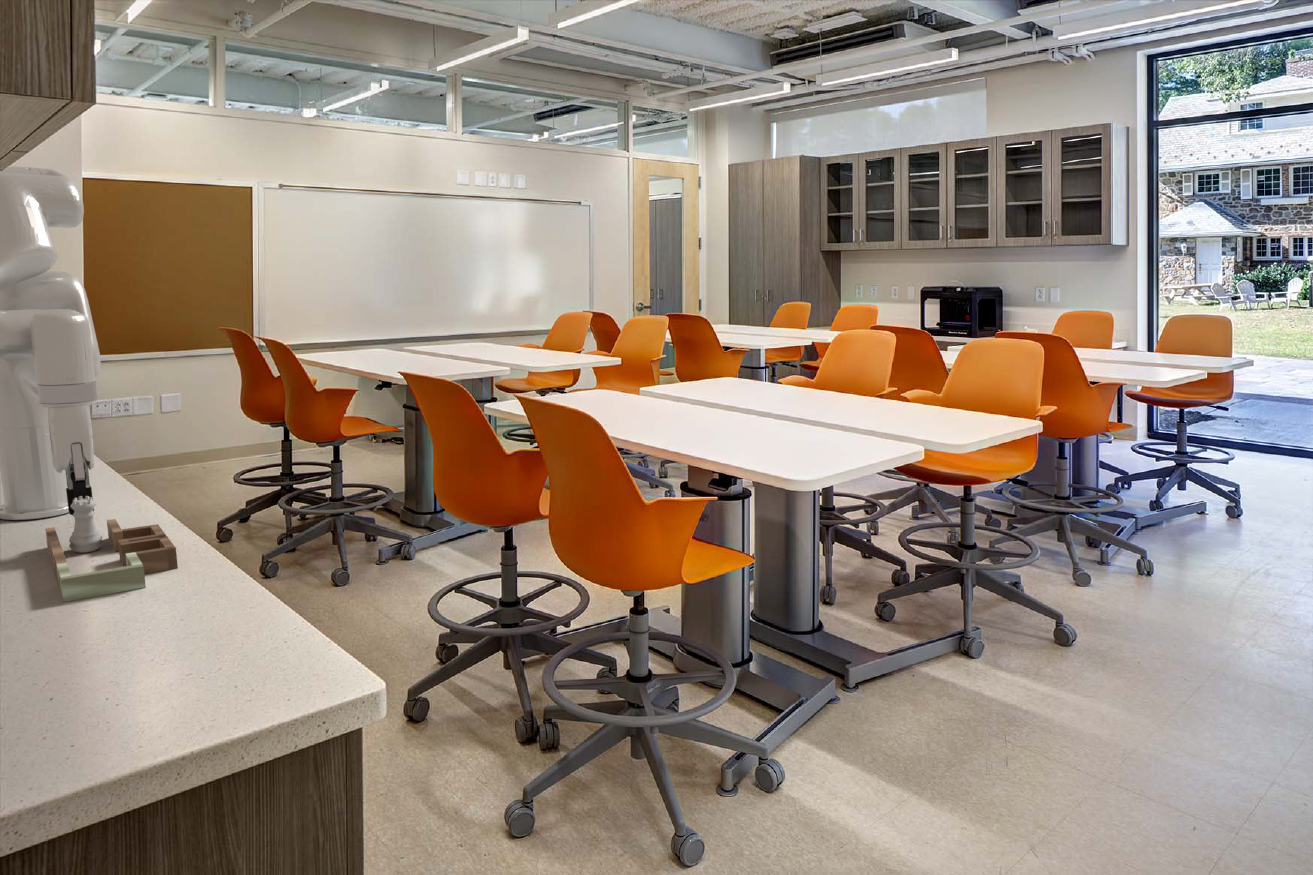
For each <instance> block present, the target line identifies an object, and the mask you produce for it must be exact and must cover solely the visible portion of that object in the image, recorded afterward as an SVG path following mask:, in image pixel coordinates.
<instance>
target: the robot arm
mask: <svg viewBox="0 0 1313 875" xmlns="http://www.w3.org/2000/svg"><path fill="white" fill-rule="evenodd" d="M9 166H10V167H8V168H7V169H4V170H3V171H0V478H1V486H2V493H3V494H2V495H3V501H4V502H3V503H4V504H1V505H0V519H1V520H7V521H12V520H13V521H23V520H36V519H38V520H39V519H44V518H45V519H46V518H50V517H56V516H61V515H64V514H68V513H69V515H70V516H73V514H74V510H73V509H72V508H71V507H70V506H71V504H72V503H73V499H74V498H77V500H78V499H79V496H82V499H85V496H89V499H90V497H92V499H93V492H92V490H93V489H92V486H91V483H90V474H89V471H91V470H93V468H95V455H94V453H95V452H94V450H95V449H94V440H93V437H94V436H93V428H92V418H91V417H92V416H91V410H90V406H91V405H95V404H98V403H99V400H98V391H97V382H96V379H97V377H99V375H100V373H101V367H102V362H101V361H102V360H101V353H100V348H99V343H98V339H97V334H96V330H95V326H94V321H93V317H92V312H91V308H90V303H89V299H88V295H87V291H86V289H85V287H84V285H83V283H82V282H81V281H80V279H79V278H78V277H77V276H76V275H75V274H72V273H69V272H66V271H56V270H55V271H49V270H51V269H52V268H53V266H55V264H56V262H57V258H58V256H57V250H56V248H55V244H54V241H53V238H52V234H51V231H50V228H64V229H65V228H67V229H69V228H71V229H72V228H77V227H78V226H79V225H80V224H81V223H82V221H83V219H84V215H85V209H84V208H85V207H84V206H85V205H84V202H83V198H82V195H81V192H80V190H79V188H78V187H77V185H76V183H75V182H74V181H73V180H72V179H71V178H70V177H68V176H66V175H64V174H63V173H61V172H59V171H57V170H54V169H52V168H43V167H28V166H15V165H9ZM93 500H94V499H93ZM94 511H95V507H94V508H93V512H94Z"/></svg>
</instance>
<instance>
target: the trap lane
mask: <svg viewBox="0 0 1313 875" xmlns="http://www.w3.org/2000/svg"><path fill="white" fill-rule="evenodd" d="M106 527H107V528H106V529H107V537H108V539H109V542H110V543H111V545H112V547H113V549H114V551H115V552H119V560H120V563H121V564H122V566H121V567H115V568H110V569H103V570H96V571H90V572H84V573H83V572H82V573H78V574H72V573H71V570H70V567H69V564H68V561H67V560H66V559H67V558H66V556H65V554H64V551H63V547H62V545H61V541H60V540H59V537H58V536H59V535H58V533H57V530H56V528H55V527H47V528H45V529H44V530H45V537H46V546H47V550H48V553H49V557H50V560H51V563H52V566H53V570H54V573H55V577H56V580H57V584H58V587H59V590H60V594H61V596H62V600H63V602H70V601H71V602H72V601H75V600H82V599H87V598H92V597H100V596H104V595H110V594H115V593H121V592H126V591H127V592H128V591H133V590H138V589H144V588H146V578H145V574H149V573H150V574H151V573H157V572H162V571H167V570H172V569H175V570H176V569H179V567H178V557H177V547H176V546H175V545H174V543H173V542H172V540H171V539H170V538H169V537H168V536H167V534H166V533H165V531H163V529H162V527H161V526H160V525H159V523H158V524H151V525H143V526H137V527H128V528H121V526H120V525H119V522H117V520H116V519H115V518H113V519H107V520H106ZM124 565H126V566H124Z"/></svg>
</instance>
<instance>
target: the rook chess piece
mask: <svg viewBox="0 0 1313 875" xmlns="http://www.w3.org/2000/svg"><path fill="white" fill-rule="evenodd" d="M92 497H93V496H92ZM92 497H90V499H89V496H85V499H82V496H79V499H78V500H77V498H74V499H73V503H72V504H71V506H70V507H71V508H72V509H73V510H74V514H73V515H72V516H73V518H74V526H73V527H74V528H73V531H72V533H71V535H70V537H69V540H68V542H69V546H68V547H69V548H70V549H71V550H72V551H73V552H75V553H80V554H83V553H84V554H85V553H92V552H95V551H98V550H99V549H100V548H101V547H102V546H103V544H104V541H103V540H102V539H103V536H102V534H101V532H99V529H97V527H96V523H95V519H94V516H95V514H96V513H95V512H94V511H93V508H94V509H95V506H97V505H96V502H95V501H93V500H94V499H92Z"/></svg>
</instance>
